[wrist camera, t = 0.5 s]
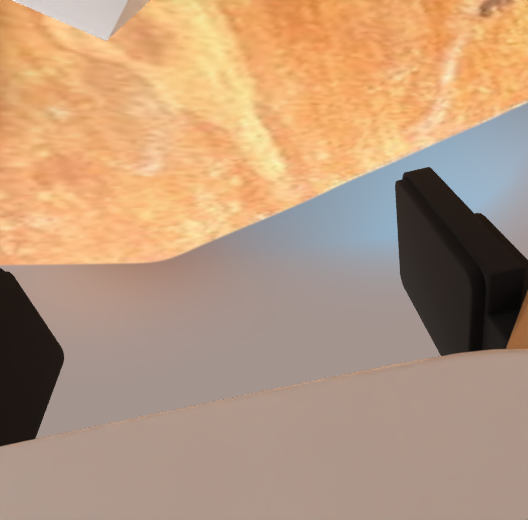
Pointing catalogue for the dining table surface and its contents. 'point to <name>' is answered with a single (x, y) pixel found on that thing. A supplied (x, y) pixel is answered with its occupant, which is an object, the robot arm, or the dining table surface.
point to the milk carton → (89, 13)
